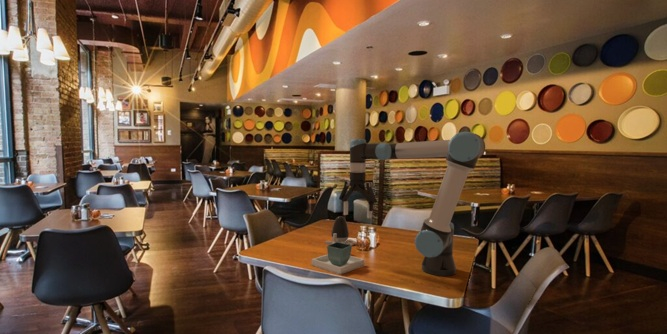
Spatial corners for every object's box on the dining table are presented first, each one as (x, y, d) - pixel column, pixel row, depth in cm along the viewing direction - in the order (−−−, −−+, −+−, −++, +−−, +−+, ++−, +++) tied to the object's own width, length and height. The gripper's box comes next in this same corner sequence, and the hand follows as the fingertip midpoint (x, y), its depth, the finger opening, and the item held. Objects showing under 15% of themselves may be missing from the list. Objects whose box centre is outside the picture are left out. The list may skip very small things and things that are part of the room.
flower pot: (341, 268, 164) (342, 249, 163) (325, 264, 168) (326, 245, 168) (351, 263, 171) (352, 245, 170) (336, 260, 176) (336, 241, 175)
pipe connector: (342, 256, 185) (342, 236, 185) (323, 254, 187) (323, 235, 187) (345, 250, 195) (345, 232, 195) (327, 249, 197) (327, 230, 197)
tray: (364, 265, 171) (364, 259, 171) (340, 274, 158) (340, 268, 158) (335, 257, 183) (336, 251, 182) (311, 265, 169) (311, 259, 169)
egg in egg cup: (351, 241, 215) (352, 216, 214) (342, 245, 206) (343, 218, 206) (337, 238, 221) (337, 213, 220) (327, 242, 212) (328, 216, 211)
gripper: (384, 172, 167) (384, 218, 168) (341, 170, 183) (341, 212, 184) (375, 173, 162) (375, 220, 162) (332, 171, 177) (331, 214, 178)
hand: (357, 216), depth 173 cm, fingers open, 13 cm apart
